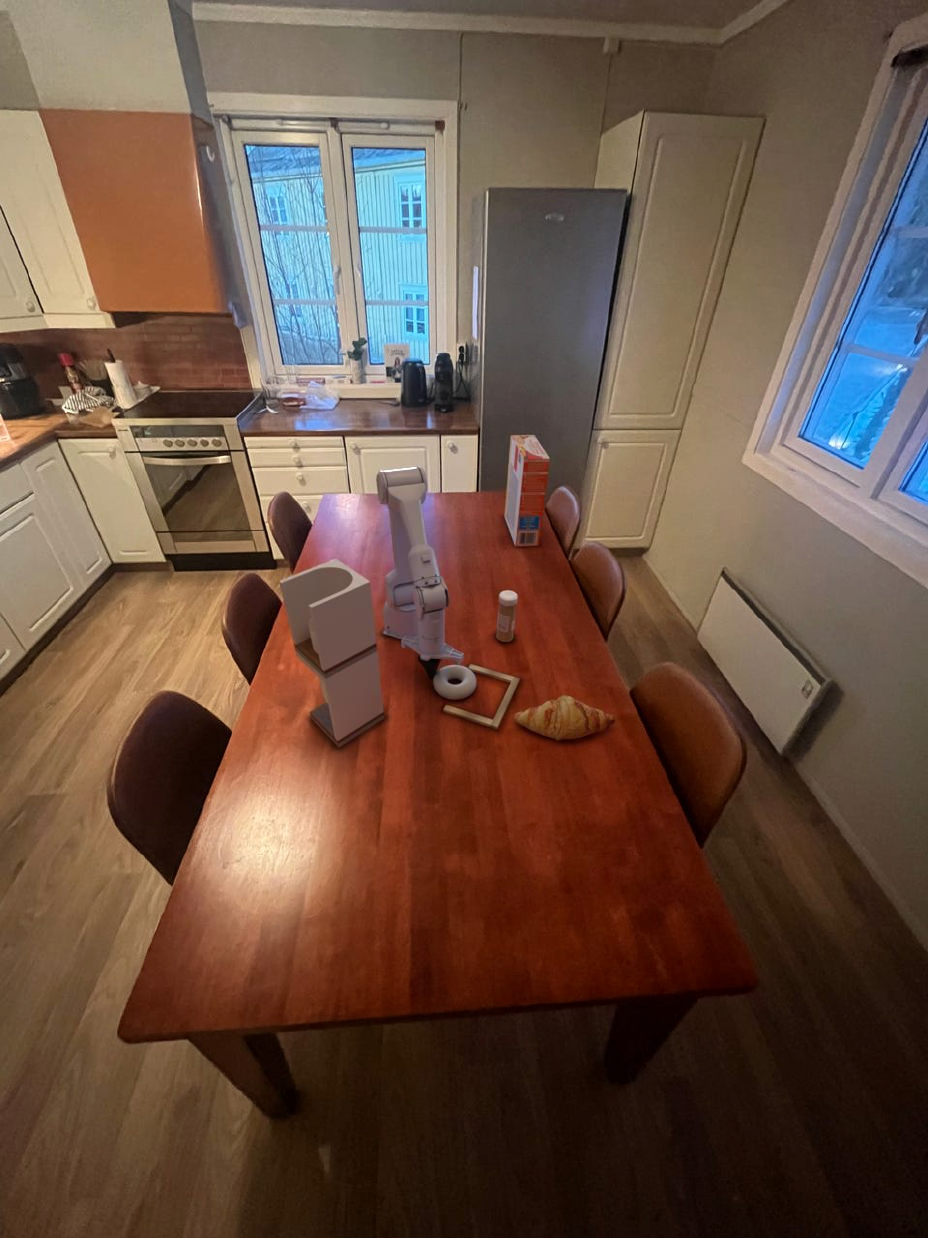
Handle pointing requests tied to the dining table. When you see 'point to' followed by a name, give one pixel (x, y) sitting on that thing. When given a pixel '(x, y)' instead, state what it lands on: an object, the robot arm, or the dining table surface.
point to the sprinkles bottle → (506, 615)
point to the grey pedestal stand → (337, 645)
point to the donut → (454, 690)
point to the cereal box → (526, 489)
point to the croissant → (564, 719)
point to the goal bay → (504, 703)
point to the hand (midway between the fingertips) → (432, 676)
